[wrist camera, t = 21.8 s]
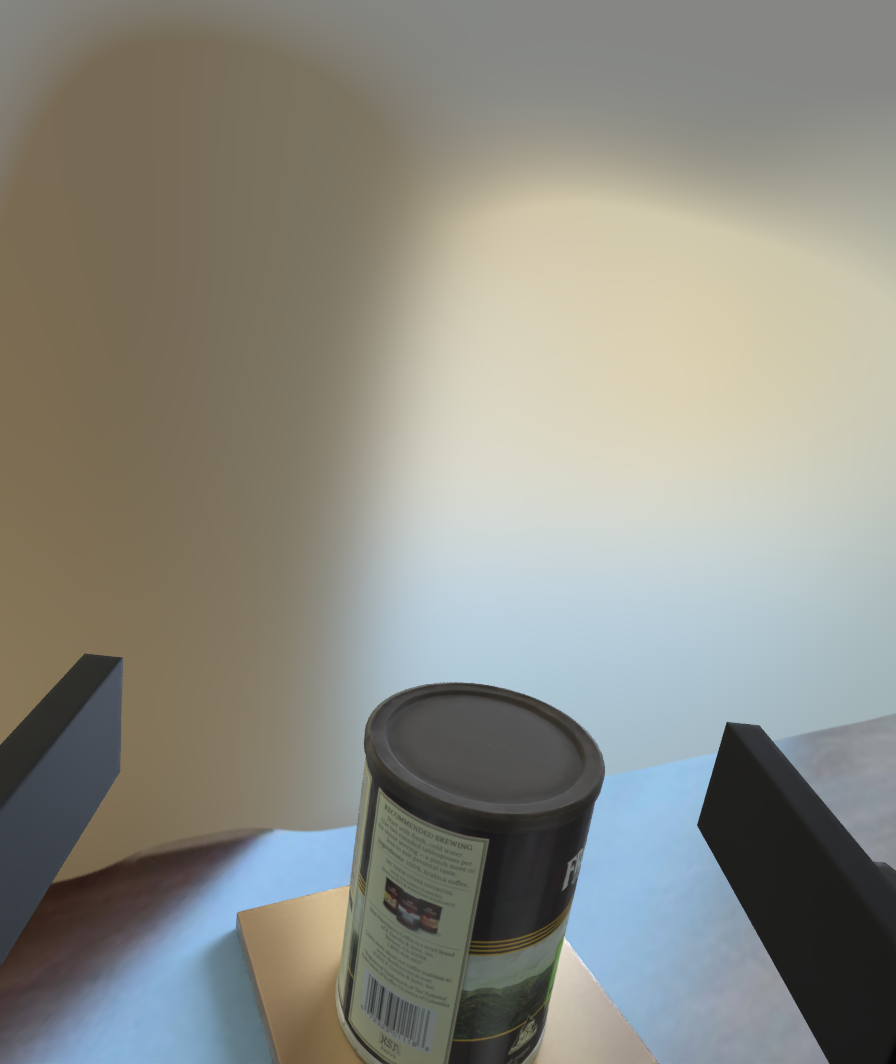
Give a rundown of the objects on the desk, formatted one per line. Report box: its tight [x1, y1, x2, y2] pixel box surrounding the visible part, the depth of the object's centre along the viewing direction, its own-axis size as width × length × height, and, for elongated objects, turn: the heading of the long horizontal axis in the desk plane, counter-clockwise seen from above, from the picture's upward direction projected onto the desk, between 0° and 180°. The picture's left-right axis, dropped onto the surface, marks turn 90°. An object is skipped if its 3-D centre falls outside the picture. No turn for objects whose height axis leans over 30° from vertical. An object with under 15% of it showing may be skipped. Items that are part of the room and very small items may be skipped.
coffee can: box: [335, 682, 605, 1064], centre depth 34 cm, size 10×10×14 cm
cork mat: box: [236, 885, 659, 1064], centre depth 36 cm, size 16×16×1 cm
